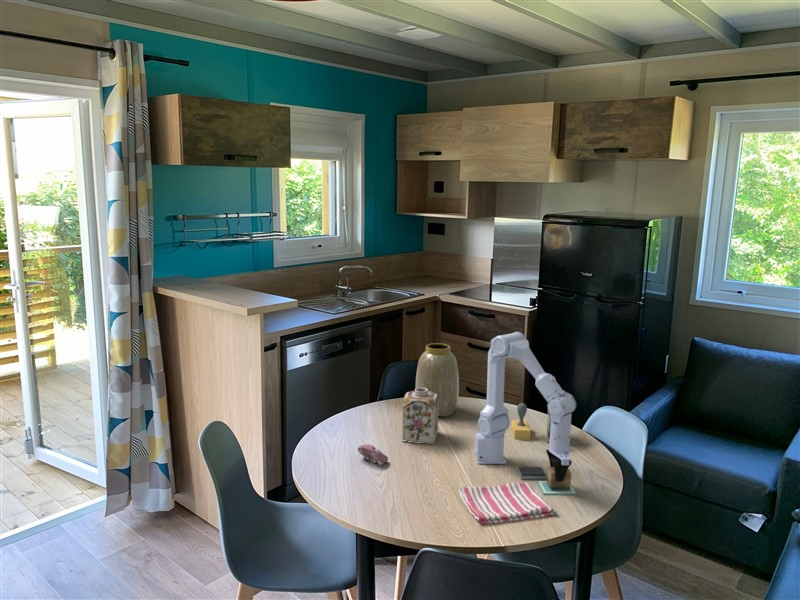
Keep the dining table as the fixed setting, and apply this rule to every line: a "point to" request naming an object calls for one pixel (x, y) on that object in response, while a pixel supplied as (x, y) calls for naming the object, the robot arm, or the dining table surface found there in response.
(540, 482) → the marked card
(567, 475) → the hand stamp
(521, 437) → the rubber stamp
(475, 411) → the dining table surface
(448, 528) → the dining table surface
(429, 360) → the vase
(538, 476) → the ink pad
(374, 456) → the pink rounded piece
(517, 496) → the dish towel
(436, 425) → the decorative jar
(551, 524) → the dining table surface
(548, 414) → the food container
